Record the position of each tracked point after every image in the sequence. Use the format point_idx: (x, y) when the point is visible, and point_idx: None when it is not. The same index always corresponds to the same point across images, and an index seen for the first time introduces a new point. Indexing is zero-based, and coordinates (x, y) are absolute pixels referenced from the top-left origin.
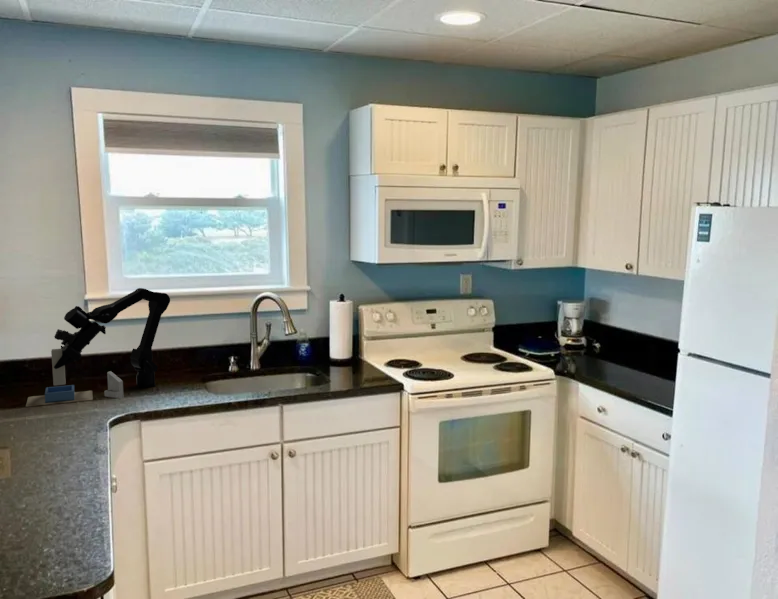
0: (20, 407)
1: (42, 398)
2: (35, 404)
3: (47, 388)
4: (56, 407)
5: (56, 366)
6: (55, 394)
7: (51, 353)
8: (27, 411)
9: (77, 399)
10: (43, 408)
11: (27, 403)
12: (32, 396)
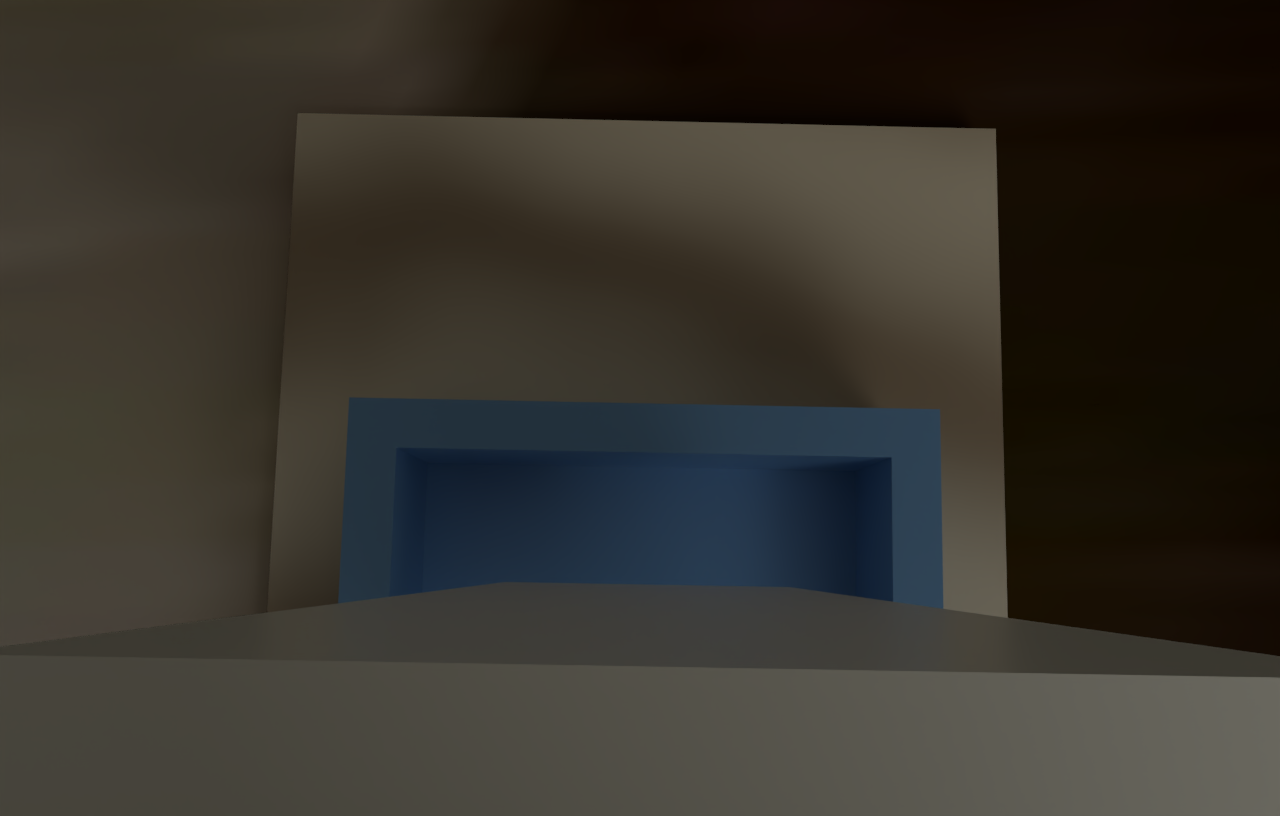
0: (480, 49)
1: (762, 366)
2: (366, 262)
3: (826, 441)
4: (189, 611)
5: None
6: None
7: (86, 638)
8: (159, 162)
9: None
10: (229, 400)
11: (505, 133)
12: (989, 195)
